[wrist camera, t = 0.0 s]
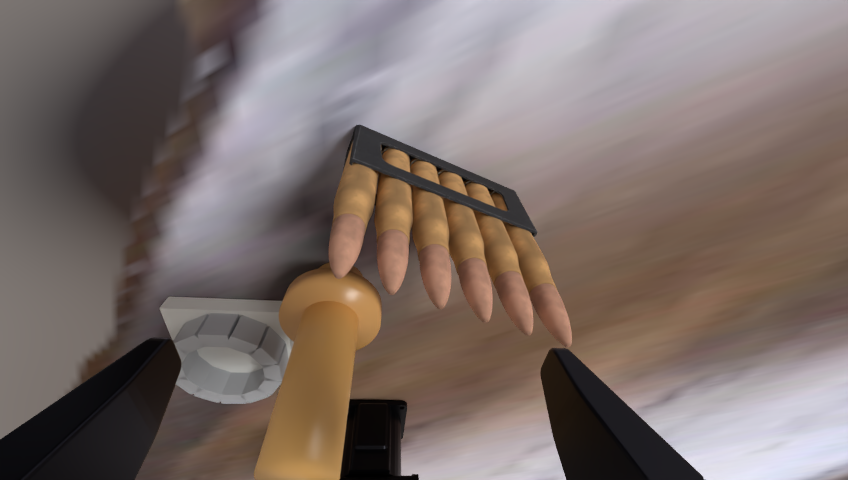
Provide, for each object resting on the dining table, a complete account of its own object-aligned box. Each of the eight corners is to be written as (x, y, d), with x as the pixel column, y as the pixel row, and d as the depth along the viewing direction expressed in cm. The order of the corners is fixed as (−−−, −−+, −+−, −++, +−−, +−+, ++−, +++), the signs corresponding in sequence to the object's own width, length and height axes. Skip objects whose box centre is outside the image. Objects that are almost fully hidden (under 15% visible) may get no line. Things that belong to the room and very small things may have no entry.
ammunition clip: (346, 152, 21) (299, 289, 11) (357, 123, 20) (315, 243, 10) (500, 214, 24) (573, 366, 14) (515, 191, 23) (604, 336, 13)
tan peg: (381, 313, 28) (370, 505, 18) (297, 310, 28) (233, 509, 17) (385, 247, 25) (374, 437, 14) (289, 242, 24) (202, 437, 13)
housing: (299, 372, 32) (290, 406, 29) (196, 370, 31) (177, 405, 28) (289, 301, 27) (278, 333, 24) (168, 296, 26) (142, 330, 23)
